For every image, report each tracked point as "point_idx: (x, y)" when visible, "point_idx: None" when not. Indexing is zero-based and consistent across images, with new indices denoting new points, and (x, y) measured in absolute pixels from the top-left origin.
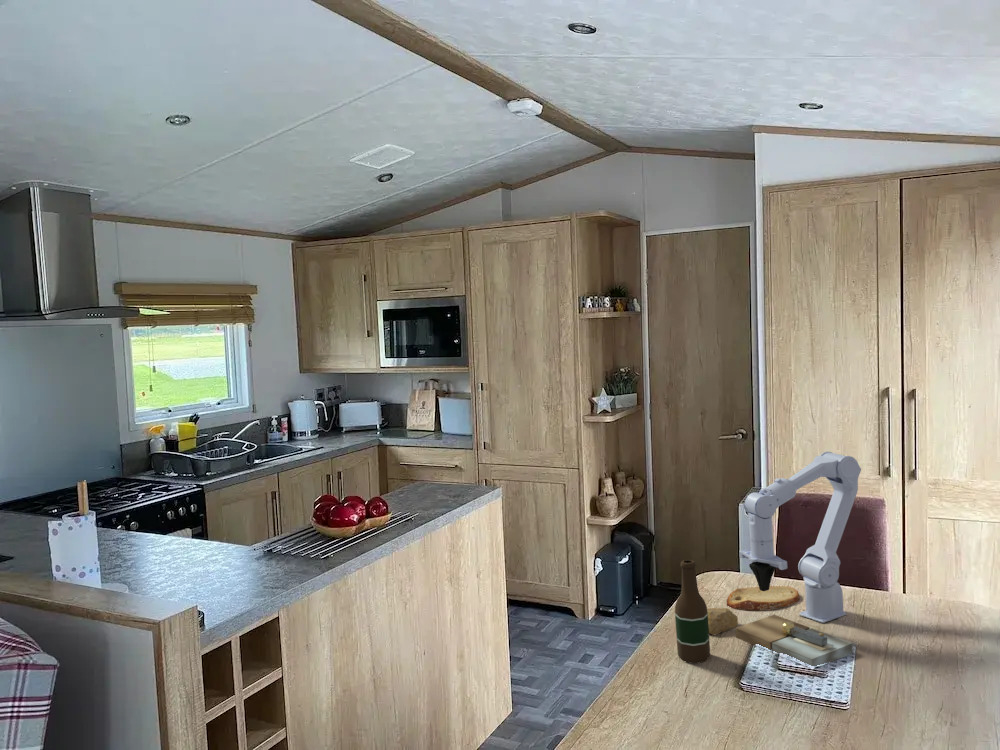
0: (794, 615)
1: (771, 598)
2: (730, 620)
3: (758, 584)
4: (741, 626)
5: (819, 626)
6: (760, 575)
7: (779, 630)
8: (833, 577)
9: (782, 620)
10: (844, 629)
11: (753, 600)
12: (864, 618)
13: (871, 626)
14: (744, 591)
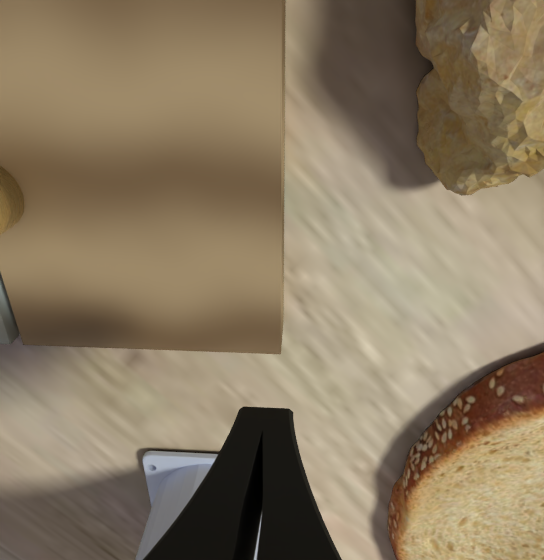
0: None
1: (468, 499)
2: (458, 115)
3: (288, 447)
4: (273, 41)
5: (132, 422)
6: (198, 555)
7: (64, 196)
8: None
9: (183, 322)
10: (55, 456)
11: (517, 427)
12: (106, 554)
13: (33, 522)
14: None
